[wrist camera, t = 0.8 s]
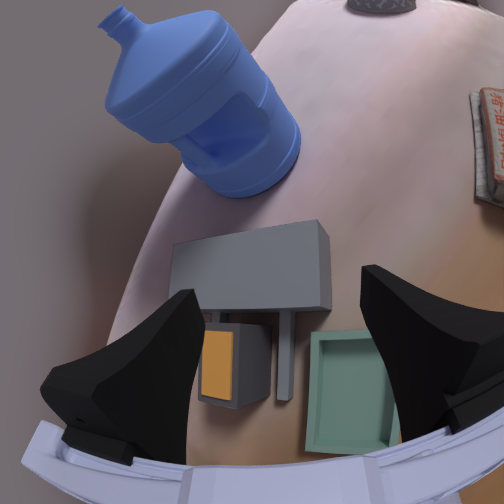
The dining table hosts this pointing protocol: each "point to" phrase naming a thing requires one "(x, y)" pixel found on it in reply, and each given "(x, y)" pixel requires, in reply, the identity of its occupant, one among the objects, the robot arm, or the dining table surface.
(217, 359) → the grey block orange panel
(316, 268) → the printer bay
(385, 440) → the tray
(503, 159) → the packaged product
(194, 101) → the water jug
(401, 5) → the dog bowl
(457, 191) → the dining table surface
